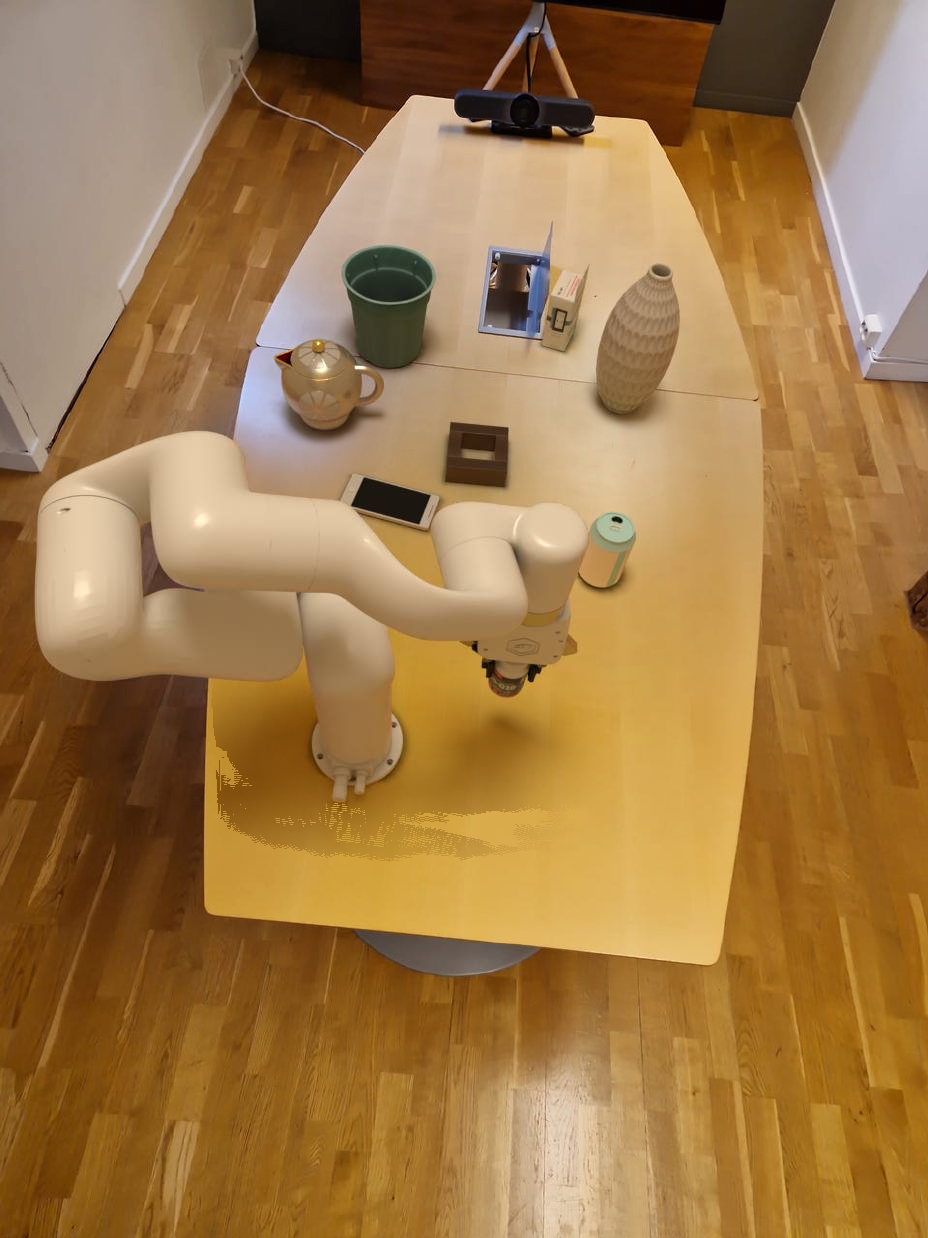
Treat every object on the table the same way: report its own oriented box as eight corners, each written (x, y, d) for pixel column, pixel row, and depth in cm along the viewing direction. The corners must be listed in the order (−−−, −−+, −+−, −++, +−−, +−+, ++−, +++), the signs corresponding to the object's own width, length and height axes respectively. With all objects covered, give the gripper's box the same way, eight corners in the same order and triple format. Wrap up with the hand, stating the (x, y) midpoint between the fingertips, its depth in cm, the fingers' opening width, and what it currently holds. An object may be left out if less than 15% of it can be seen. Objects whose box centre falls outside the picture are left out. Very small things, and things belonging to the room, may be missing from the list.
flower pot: (373, 307, 161) (370, 232, 147) (446, 336, 158) (451, 263, 145) (330, 357, 153) (323, 283, 139) (407, 388, 150) (408, 316, 136)
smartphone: (353, 475, 139) (352, 472, 138) (440, 499, 137) (440, 495, 136) (338, 507, 135) (338, 503, 134) (427, 531, 134) (427, 528, 133)
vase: (603, 368, 157) (641, 235, 133) (663, 396, 154) (713, 264, 130) (573, 408, 151) (608, 275, 127) (635, 437, 148) (682, 307, 124)
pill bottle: (481, 688, 107) (489, 658, 100) (497, 661, 110) (506, 630, 103) (513, 705, 107) (523, 675, 100) (529, 677, 109) (540, 646, 102)
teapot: (278, 440, 141) (266, 367, 127) (286, 385, 148) (275, 310, 134) (382, 445, 143) (381, 373, 129) (385, 390, 150) (385, 316, 136)
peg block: (504, 487, 140) (507, 471, 136) (445, 481, 140) (446, 465, 136) (506, 443, 145) (508, 427, 142) (449, 437, 145) (450, 421, 141)
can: (570, 560, 133) (584, 514, 123) (608, 549, 135) (626, 503, 124) (588, 594, 130) (605, 550, 119) (627, 583, 131) (647, 538, 121)
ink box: (552, 319, 163) (565, 253, 151) (576, 326, 163) (591, 260, 150) (540, 345, 159) (552, 280, 146) (564, 352, 158) (579, 287, 146)
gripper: (454, 614, 87) (442, 690, 103) (610, 630, 88) (574, 702, 104) (459, 558, 91) (446, 638, 107) (608, 573, 92) (574, 651, 108)
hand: (509, 669), depth 105 cm, fingers closed on pill bottle, 4 cm apart
